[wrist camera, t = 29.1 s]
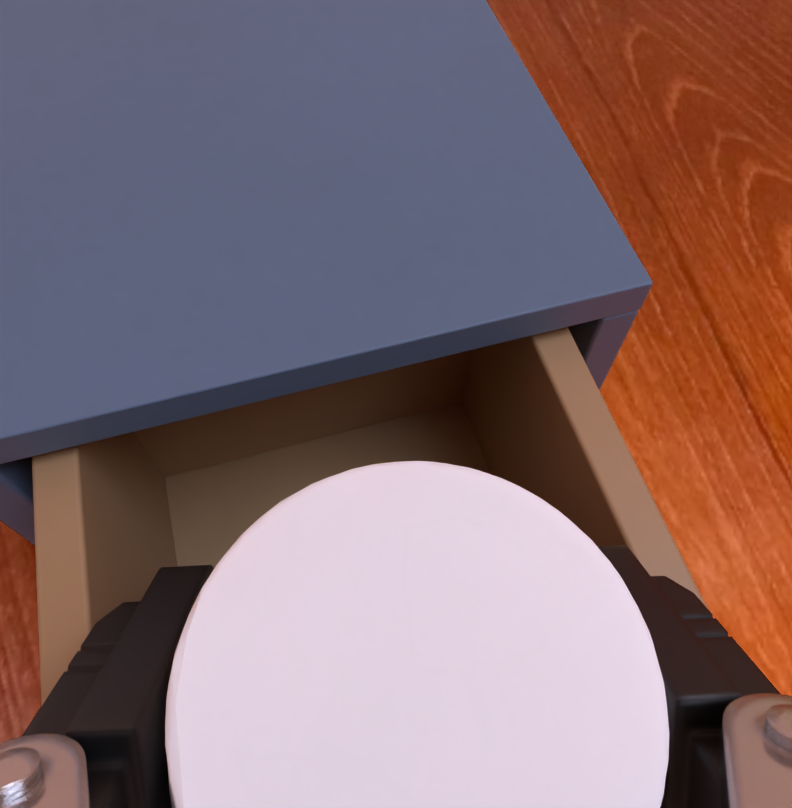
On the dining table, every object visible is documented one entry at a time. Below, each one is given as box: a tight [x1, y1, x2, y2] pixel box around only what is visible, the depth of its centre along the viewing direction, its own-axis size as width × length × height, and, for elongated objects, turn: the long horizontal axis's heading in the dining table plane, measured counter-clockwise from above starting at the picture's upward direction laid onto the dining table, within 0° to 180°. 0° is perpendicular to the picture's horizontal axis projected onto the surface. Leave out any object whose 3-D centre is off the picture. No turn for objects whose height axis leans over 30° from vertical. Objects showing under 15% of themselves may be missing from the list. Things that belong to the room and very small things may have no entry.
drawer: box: [32, 327, 708, 706], centre depth 13 cm, size 18×11×8 cm, turn 16°
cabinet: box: [0, 0, 653, 545], centre depth 19 cm, size 15×13×10 cm
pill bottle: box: [165, 461, 669, 808], centre depth 10 cm, size 5×5×10 cm
